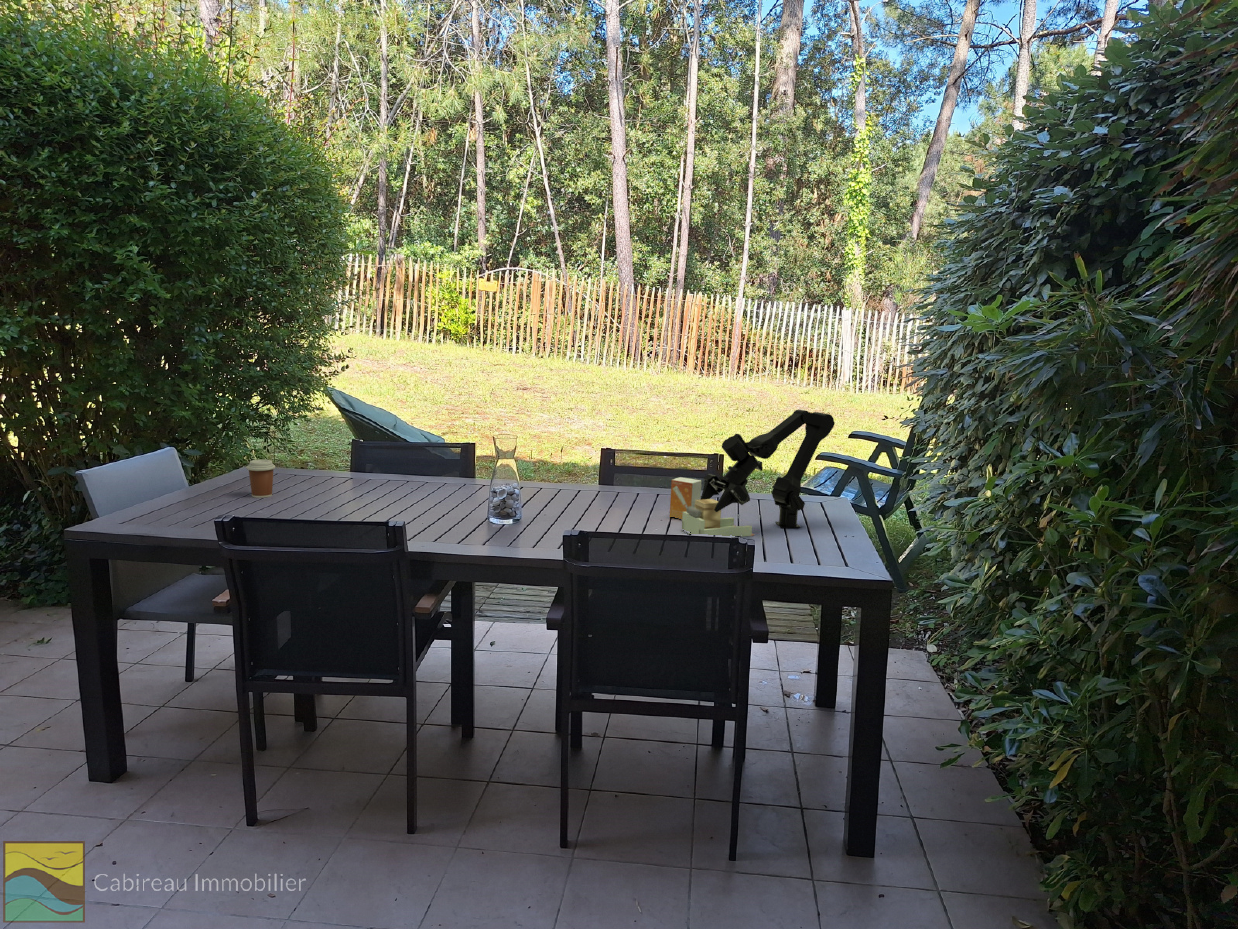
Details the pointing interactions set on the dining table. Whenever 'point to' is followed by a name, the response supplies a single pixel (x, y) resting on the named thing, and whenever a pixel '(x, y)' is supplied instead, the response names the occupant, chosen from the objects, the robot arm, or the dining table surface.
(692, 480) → the small box
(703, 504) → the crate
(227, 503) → the dining table surface
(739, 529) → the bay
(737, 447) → the robot arm
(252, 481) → the coffee cup
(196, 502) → the dining table surface
